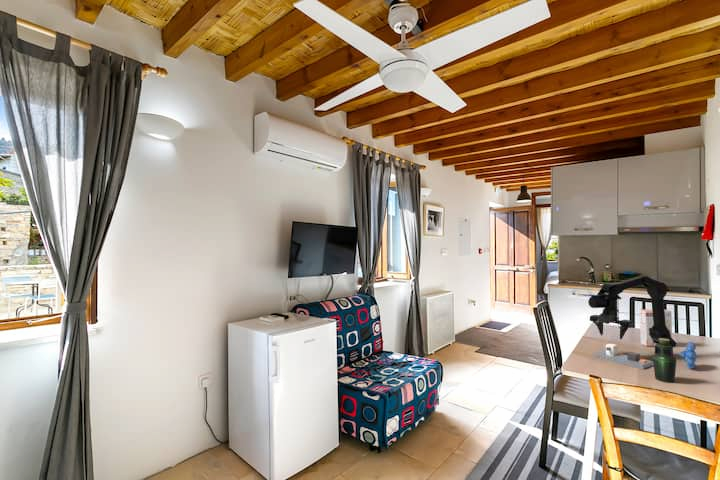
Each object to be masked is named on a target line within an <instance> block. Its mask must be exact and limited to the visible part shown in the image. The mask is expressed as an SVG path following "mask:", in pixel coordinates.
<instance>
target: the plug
mask: <svg viewBox="0 0 720 480" xmlns="http://www.w3.org/2000/svg"><path fill="white" fill-rule="evenodd" d="M618 347H619V346H618V344H615V343H607V344H605V350H606V355H609V356H613V357H614V356H617V355H618V353H619V352H618Z"/></svg>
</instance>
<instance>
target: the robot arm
mask: <svg viewBox="0 0 720 480" xmlns="http://www.w3.org/2000/svg"><path fill="white" fill-rule="evenodd" d="M638 286H643V288H646V289H645V290H646V292H647V294H648V296H649V297H650V298H651V309H652V312H653V323H654V325H653V326H652V328H649V335H650V337H651V338H652V340H653V342H654V343H656V344H657V343H659V338H664V339H669V340H670V341H669V344H670V345H672V347H673V349H670V350H669V353H668V354H670V355H671V356H673V357H675V355H674V348H676V346H677V344H678V343H677V342H676V340H675V339H673V337H672V338H671V334H670V331H669V330H668V328H667V327H666V323H665V311H664V309H665V300H664V299H665V297H666V295H667V292H668V285H667V284H666V283H665V282H661V281H658V280H656V279H653V278H651V277H649V276H647V275H641V274H640V275H637V276H634V277H631V278H628V279H625V280H622V281H617V282H606V283H603V284H602V286H601V288H600V290H599V291H598V293H597V294H591V295H590V297H589V299H588V300H587V301H588V305H589V307H590V308H592V309H601V308H602V313H600V314H592V315H590V316H589V321H590V322H592V323H593V324H595V325H596V328H597V330H598V332H599V334H600V336H603V334H604V324H607V325H609V324H617V325H620V326H619V327H618V328H619V339H620V340H622V339H623V338H624V336H625V333H626V332H627V331H628V330H629V329H630V328H632V327H634V326H635V323H634V321H633V320H629V319H622V320H620V319H619V318H620V317H619V316H618V313H619V312H620V311H619V309H618V300H622V299H623V298H622V297H621V296H619V295H620V294H621V293H623V291H625V290H628V289H632V288H635V287H638ZM657 353H660V350H659V348H658V347H656V346H655V347H654V354H657Z"/></svg>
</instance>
